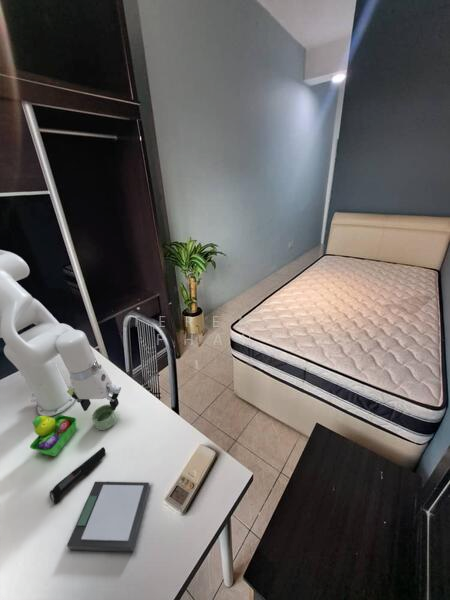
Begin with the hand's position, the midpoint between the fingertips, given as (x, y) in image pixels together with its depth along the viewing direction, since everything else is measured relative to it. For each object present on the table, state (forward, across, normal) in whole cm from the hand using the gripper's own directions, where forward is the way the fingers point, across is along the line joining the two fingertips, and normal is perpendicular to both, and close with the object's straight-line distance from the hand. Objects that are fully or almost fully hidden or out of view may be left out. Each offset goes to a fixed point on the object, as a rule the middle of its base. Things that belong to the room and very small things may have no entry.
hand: (101, 406), depth 82 cm
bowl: (+8, +1, 0) cm, 8 cm away
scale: (+9, -13, +26) cm, 30 cm away
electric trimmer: (+8, +1, +17) cm, 19 cm away
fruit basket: (+8, +14, +7) cm, 17 cm away
